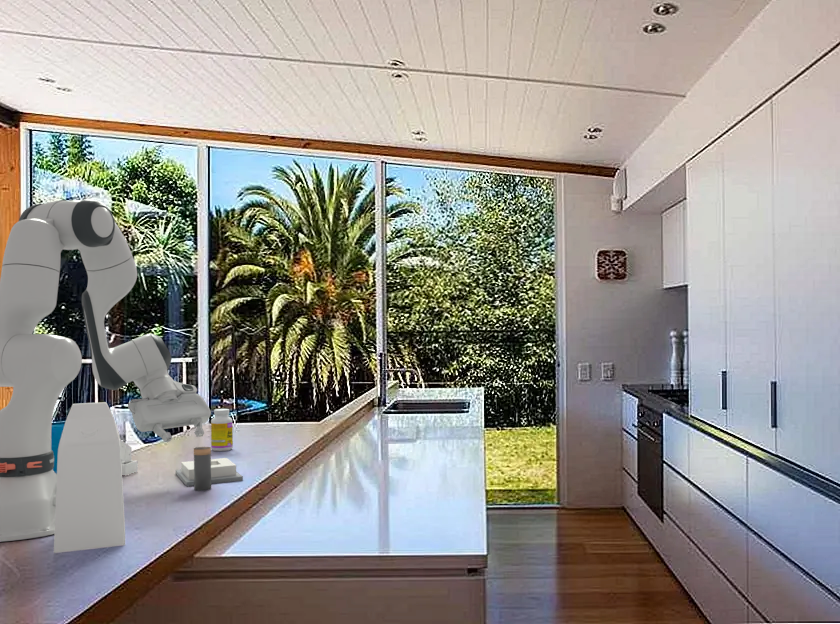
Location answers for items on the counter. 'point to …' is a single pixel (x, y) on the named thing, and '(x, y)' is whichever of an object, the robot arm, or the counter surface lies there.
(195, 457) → the battery
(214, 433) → the supplement bottle
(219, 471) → the socket
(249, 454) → the counter surface
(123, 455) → the white angled block
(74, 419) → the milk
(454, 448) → the counter surface
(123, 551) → the counter surface
